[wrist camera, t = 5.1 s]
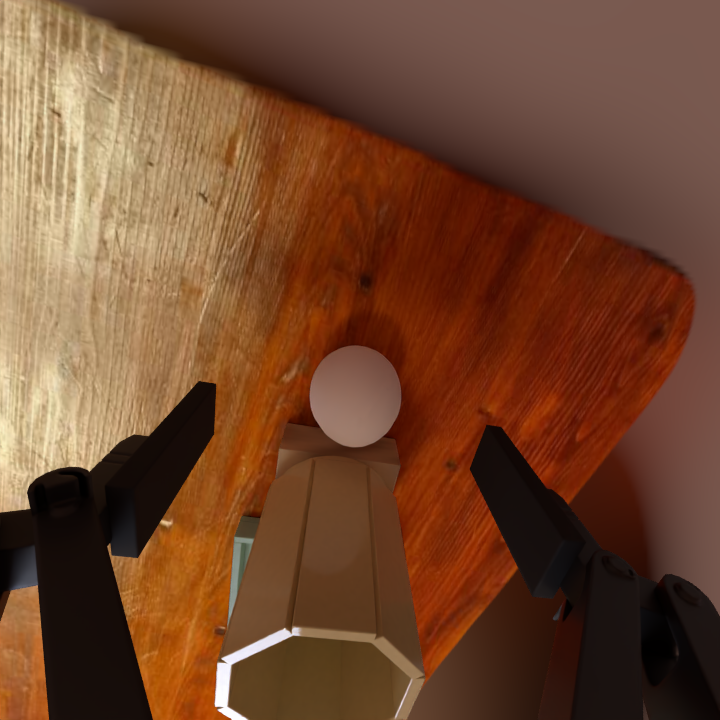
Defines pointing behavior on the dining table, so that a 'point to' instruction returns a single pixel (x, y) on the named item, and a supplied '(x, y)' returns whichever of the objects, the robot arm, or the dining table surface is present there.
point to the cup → (323, 604)
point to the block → (336, 452)
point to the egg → (355, 395)
